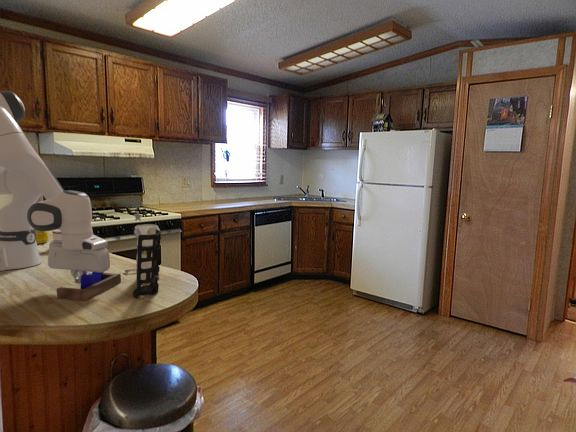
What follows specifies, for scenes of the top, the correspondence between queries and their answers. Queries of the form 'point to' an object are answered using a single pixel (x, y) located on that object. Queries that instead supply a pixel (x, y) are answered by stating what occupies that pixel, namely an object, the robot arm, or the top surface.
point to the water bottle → (145, 242)
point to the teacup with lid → (57, 234)
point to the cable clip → (90, 279)
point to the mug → (41, 237)
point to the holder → (149, 271)
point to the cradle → (90, 288)
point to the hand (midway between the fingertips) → (79, 283)
